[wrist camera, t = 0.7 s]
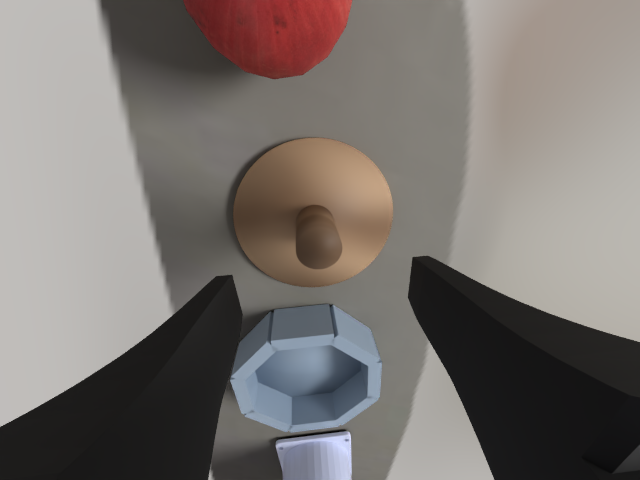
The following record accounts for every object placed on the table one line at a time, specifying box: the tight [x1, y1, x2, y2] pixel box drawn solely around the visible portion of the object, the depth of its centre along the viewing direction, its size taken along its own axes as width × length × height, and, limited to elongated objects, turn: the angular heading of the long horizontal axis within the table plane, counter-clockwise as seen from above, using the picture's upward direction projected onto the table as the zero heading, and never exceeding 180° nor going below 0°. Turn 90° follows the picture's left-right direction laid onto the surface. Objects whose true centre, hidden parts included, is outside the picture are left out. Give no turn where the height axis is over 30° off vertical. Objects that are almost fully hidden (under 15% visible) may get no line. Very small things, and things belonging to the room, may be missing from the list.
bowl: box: [230, 304, 382, 432], centre depth 21 cm, size 11×11×3 cm
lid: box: [233, 138, 393, 287], centre depth 15 cm, size 10×10×4 cm
